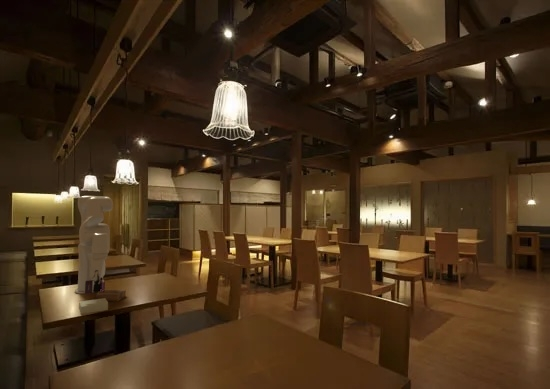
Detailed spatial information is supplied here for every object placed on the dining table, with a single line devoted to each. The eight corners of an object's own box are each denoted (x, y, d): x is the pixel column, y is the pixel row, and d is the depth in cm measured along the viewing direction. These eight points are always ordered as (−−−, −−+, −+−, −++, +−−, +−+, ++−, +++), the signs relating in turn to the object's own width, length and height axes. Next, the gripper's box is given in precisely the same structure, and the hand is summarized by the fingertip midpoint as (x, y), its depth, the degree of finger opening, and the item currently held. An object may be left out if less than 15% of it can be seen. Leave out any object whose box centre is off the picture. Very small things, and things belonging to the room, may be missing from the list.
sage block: (78, 309, 161) (79, 301, 161) (104, 305, 168) (105, 298, 169) (80, 314, 153) (81, 306, 153) (107, 310, 160) (108, 302, 160)
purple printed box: (85, 280, 162) (104, 278, 167) (85, 281, 166) (104, 280, 171) (84, 293, 160) (104, 291, 165) (84, 294, 164) (104, 292, 169)
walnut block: (105, 296, 185) (105, 289, 185) (125, 296, 185) (125, 290, 185) (95, 301, 175) (96, 294, 175) (117, 301, 175) (117, 294, 175)
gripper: (95, 254, 174) (94, 287, 173) (87, 258, 158) (85, 295, 157) (110, 253, 176) (109, 286, 175) (103, 258, 160) (102, 294, 159)
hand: (98, 290), depth 166 cm, fingers closed on purple printed box, 4 cm apart
